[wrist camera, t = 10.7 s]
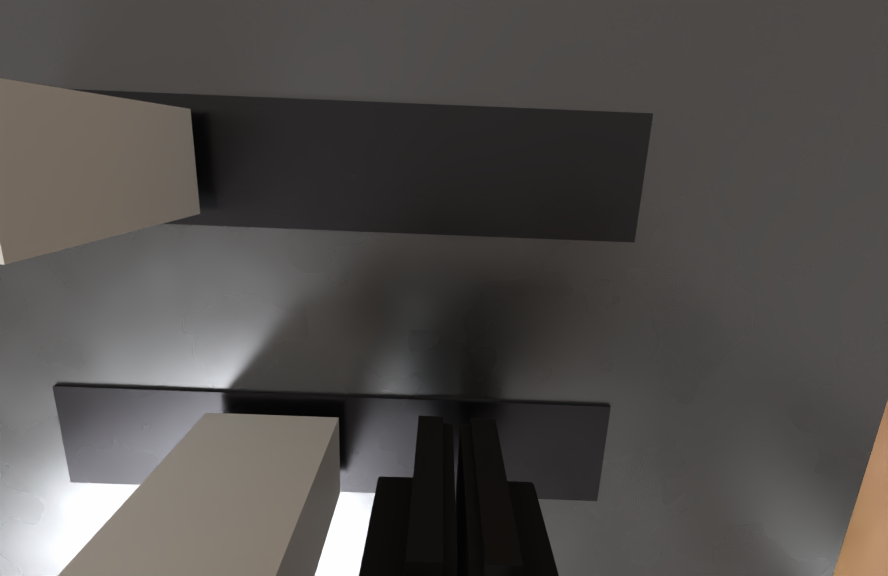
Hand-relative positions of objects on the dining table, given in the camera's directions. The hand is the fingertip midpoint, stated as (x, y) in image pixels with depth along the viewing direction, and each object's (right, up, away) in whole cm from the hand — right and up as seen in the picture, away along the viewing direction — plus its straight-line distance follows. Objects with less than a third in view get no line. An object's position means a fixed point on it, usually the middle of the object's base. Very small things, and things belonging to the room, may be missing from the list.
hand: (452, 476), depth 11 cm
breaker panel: (-4, +1, +3) cm, 5 cm away
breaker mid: (-4, 0, +1) cm, 4 cm away
